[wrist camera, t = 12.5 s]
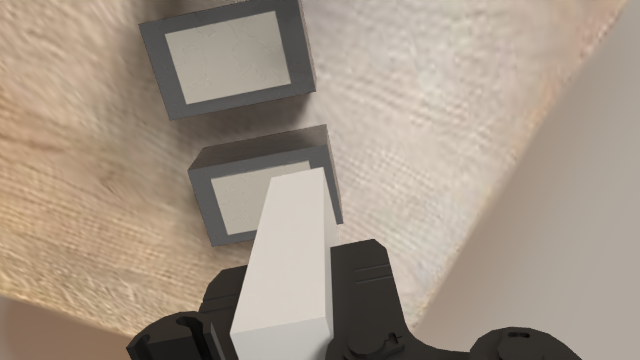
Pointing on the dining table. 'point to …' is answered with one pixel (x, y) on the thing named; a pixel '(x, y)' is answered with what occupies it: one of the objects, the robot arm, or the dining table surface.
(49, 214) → the dining table surface
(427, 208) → the dining table surface
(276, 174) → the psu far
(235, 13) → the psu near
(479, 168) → the dining table surface
